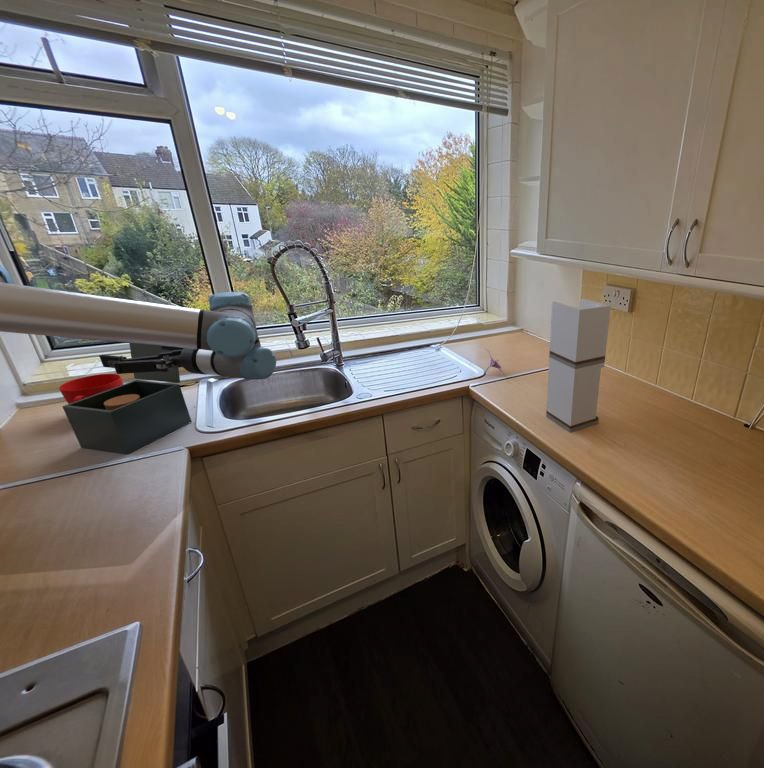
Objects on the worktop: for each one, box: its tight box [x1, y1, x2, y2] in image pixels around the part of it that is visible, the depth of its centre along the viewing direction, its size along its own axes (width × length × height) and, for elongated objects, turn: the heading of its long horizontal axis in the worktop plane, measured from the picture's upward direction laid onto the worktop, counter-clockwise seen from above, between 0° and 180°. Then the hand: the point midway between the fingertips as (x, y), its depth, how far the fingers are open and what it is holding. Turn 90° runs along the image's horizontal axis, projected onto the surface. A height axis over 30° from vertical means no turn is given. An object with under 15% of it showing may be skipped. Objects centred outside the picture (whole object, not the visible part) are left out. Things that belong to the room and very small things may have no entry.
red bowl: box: [58, 373, 124, 404], centre depth 118 cm, size 13×17×10 cm
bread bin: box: [62, 379, 192, 455], centre depth 108 cm, size 18×15×12 cm
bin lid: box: [128, 343, 181, 384], centre depth 112 cm, size 18×15×1 cm
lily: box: [483, 348, 505, 376], centre depth 154 cm, size 12×12×10 cm
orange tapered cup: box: [104, 394, 141, 410], centre depth 107 cm, size 7×7×10 cm
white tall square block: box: [545, 298, 612, 433], centre depth 115 cm, size 11×11×35 cm
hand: (134, 351), depth 98 cm, fingers open, 13 cm apart
